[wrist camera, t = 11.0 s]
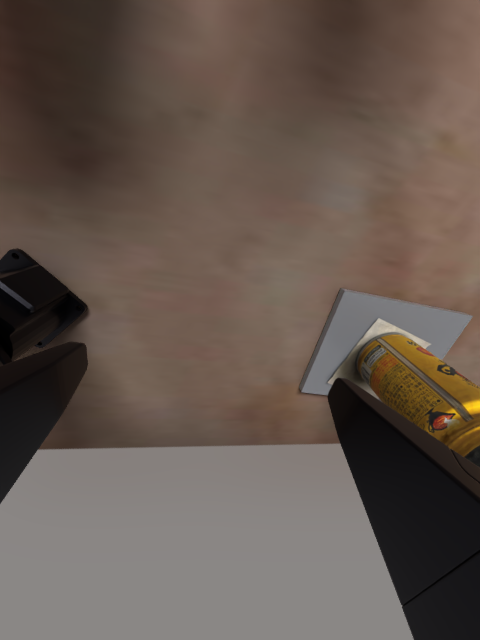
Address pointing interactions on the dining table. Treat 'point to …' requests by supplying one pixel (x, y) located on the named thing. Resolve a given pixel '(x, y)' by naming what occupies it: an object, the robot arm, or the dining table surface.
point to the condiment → (417, 386)
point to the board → (358, 317)
